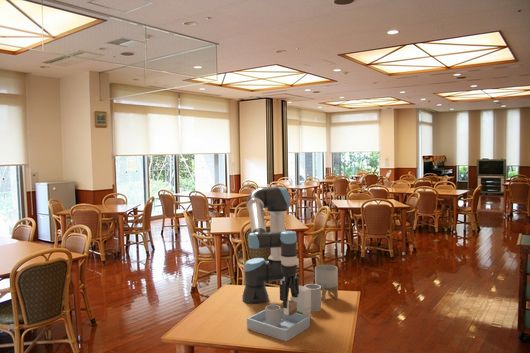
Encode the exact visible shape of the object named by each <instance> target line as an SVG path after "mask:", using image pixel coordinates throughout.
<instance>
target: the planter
mask: <svg viewBox="0 0 530 353" xmlns="http://www.w3.org/2000/svg"><path fill="white" fill-rule="evenodd" d="M338 271H339V270H338V267H337V266H336V265H334V264H333V265H332V264H320V265H319V264H318V265H316V266H315V267H314V282H315V283H314V284H317V285H320V286H321V302H323V301H325V302H326V296H327V295H328V296H331V295H332V294H333V296H334V300H335V299H337V300H338V299H339V297H338V296H339V292H338V290H339V287H338V285H339V282H338V281H339V277H338V275H339V274H338Z"/></svg>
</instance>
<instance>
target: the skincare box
mask: <svg viewBox="0 0 530 353" xmlns="http://www.w3.org/2000/svg"><path fill="white" fill-rule="evenodd" d="M304 286H305V285H304ZM304 286H303V285H299V294H298V297H296V302H297V313H298V314H301V315H305V316H309V317H310V318H312V317H311V316H312V315H311V313H312V311H311V289H310V288H307V287H304ZM296 292H297V291H296Z"/></svg>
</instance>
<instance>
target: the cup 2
mask: <svg viewBox="0 0 530 353" xmlns="http://www.w3.org/2000/svg"><path fill="white" fill-rule="evenodd" d="M304 287H307V288H310V289H311V312H319V311H321V310H322V291H321V286H320V285H317V284H315V283H309V284H308V283H307V284H304ZM320 309H321V310H320ZM318 310H319V311H318Z"/></svg>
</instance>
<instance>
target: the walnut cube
mask: <svg viewBox="0 0 530 353" xmlns="http://www.w3.org/2000/svg"><path fill="white" fill-rule="evenodd" d="M288 301H289V315H290V316H291V315H293V314H295V313H297V302H294V301H290V299H288ZM281 305H282V306H281V309H282V313H283V314H284V308H283V302H282V303H281Z"/></svg>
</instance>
